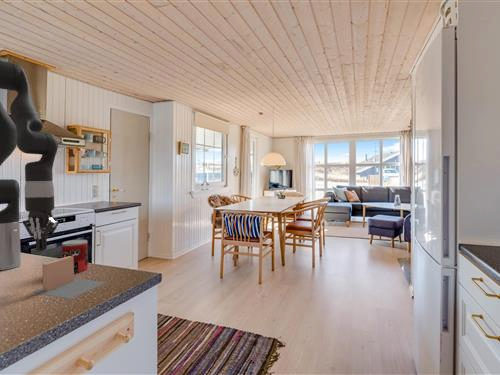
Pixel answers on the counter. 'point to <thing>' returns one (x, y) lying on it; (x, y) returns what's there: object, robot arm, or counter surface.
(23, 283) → the counter surface
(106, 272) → the counter surface
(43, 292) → the mat
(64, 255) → the canned food
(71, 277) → the block
